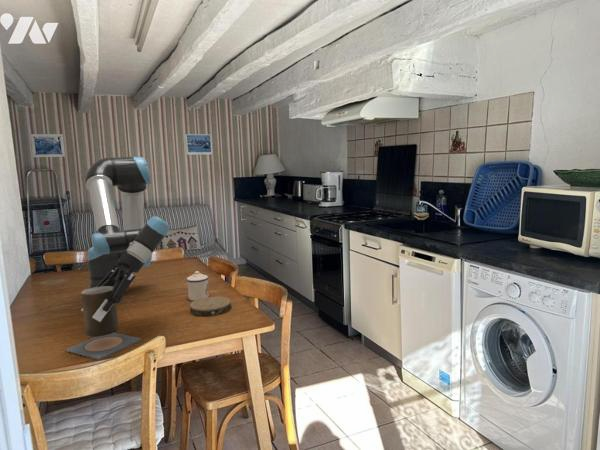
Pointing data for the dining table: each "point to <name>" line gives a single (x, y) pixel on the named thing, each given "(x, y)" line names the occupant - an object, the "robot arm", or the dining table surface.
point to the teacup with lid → (197, 286)
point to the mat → (103, 345)
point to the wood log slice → (210, 306)
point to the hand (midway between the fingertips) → (90, 316)
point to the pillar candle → (91, 304)
